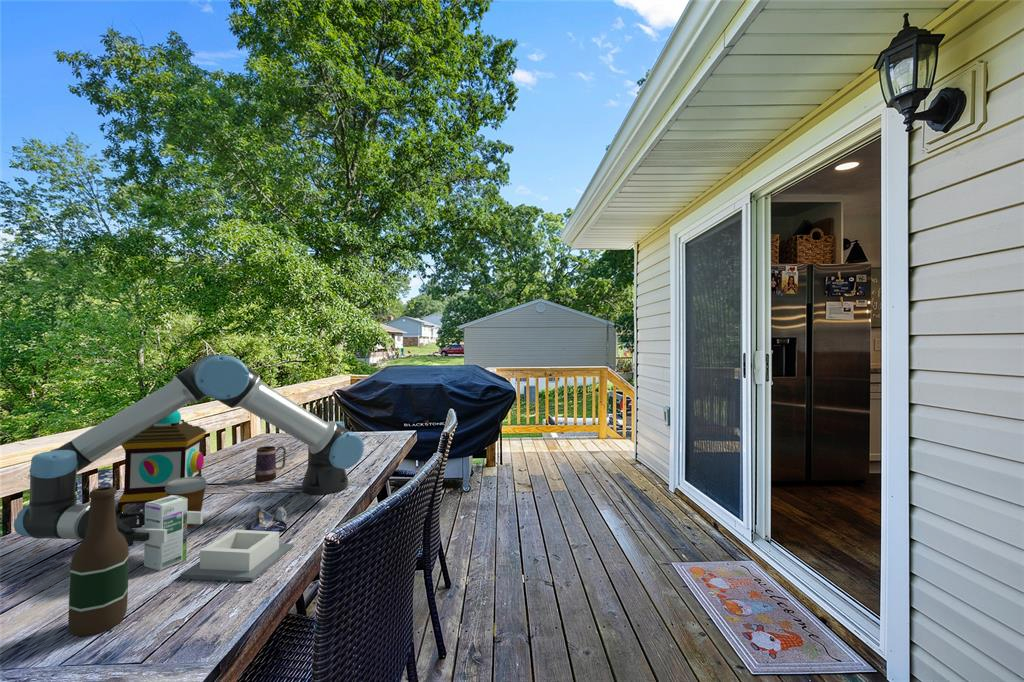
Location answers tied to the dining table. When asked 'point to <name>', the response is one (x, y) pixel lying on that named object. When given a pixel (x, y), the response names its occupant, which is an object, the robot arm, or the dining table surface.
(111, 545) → the beer bottle
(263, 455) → the mug
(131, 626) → the dining table surface
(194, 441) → the decorative lantern
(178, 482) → the disposable coffee cup
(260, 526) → the snack package
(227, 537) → the socket holder
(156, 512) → the syrup box
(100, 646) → the dining table surface
